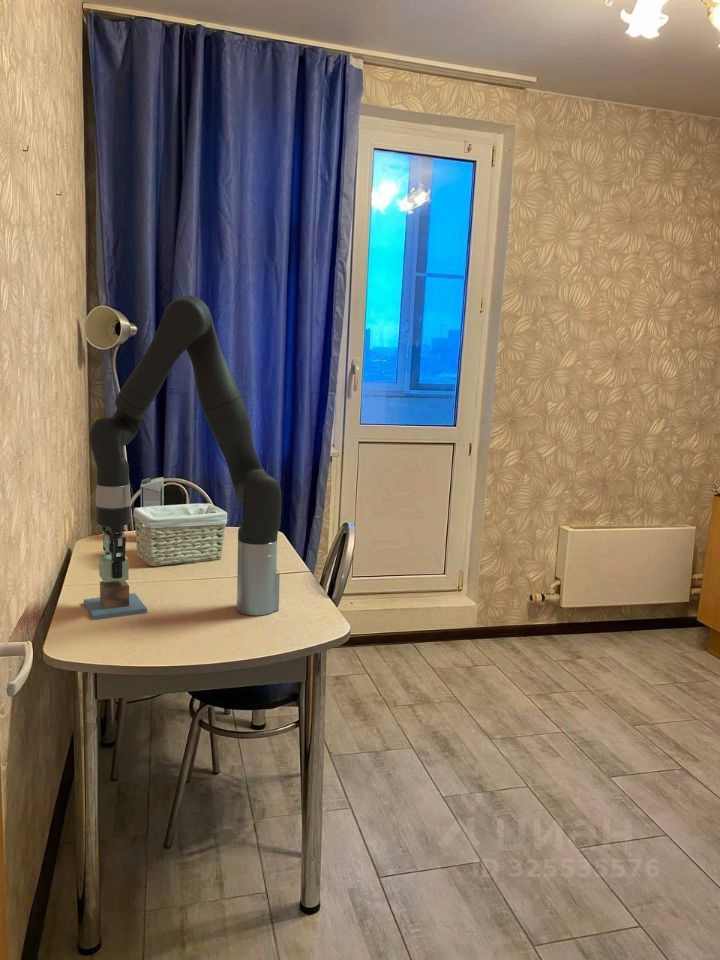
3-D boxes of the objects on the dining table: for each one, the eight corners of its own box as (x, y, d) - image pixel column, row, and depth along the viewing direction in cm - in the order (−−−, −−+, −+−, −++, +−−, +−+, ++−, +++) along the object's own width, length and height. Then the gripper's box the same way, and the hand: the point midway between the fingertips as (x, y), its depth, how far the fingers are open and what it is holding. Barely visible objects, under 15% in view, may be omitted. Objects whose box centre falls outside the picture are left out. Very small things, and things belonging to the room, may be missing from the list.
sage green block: (123, 573, 177) (123, 553, 176) (128, 579, 172) (128, 559, 171) (99, 575, 174) (99, 555, 173) (103, 582, 169) (103, 561, 168)
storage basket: (209, 547, 231) (209, 501, 228) (229, 560, 217) (229, 511, 215) (131, 555, 218) (131, 506, 216) (147, 570, 205) (147, 518, 202)
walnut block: (124, 598, 178) (123, 578, 177) (129, 605, 173) (129, 585, 172) (100, 601, 175) (99, 581, 174) (105, 609, 170) (104, 588, 170)
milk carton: (163, 542, 234) (162, 480, 231) (141, 542, 232) (140, 480, 229) (163, 536, 241) (163, 476, 237) (142, 537, 239) (141, 476, 236)
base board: (134, 596, 182) (134, 593, 182) (147, 612, 172) (147, 608, 172) (83, 603, 177) (83, 599, 176) (93, 619, 166) (93, 615, 166)
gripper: (137, 508, 166) (137, 581, 169) (122, 496, 178) (123, 564, 181) (102, 510, 162) (103, 585, 165) (90, 498, 174) (91, 567, 177)
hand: (114, 574), depth 173 cm, fingers closed on sage green block, 5 cm apart
